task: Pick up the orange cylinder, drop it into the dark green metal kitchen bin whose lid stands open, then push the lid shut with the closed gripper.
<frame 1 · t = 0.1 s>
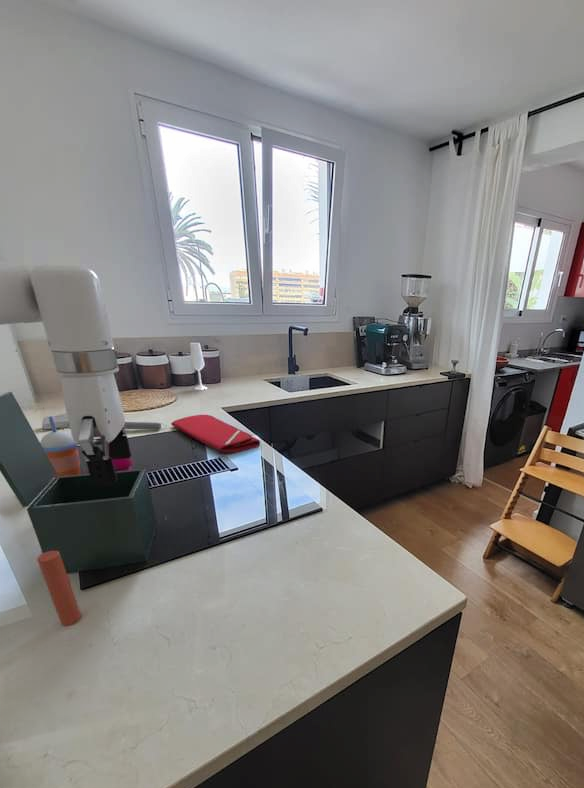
hand: (113, 469, 63), 24 cm above the counter, tool pointing down, fingers open, 9 cm apart
pepper mill: (120, 476, 114), on the counter
kitchen whisk: (118, 431, 150), on the counter
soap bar: (58, 427, 152), on the counter
bin lid: (17, 447, 71), point 24 cm above the counter, hinge at 100.0°
champagne flute: (201, 388, 216), on the counter
orange cylinder: (71, 619, 65), on the counter
cup with straw: (68, 477, 113), on the counter
bin: (109, 548, 83), on the counter
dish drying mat: (214, 436, 148), on the counter
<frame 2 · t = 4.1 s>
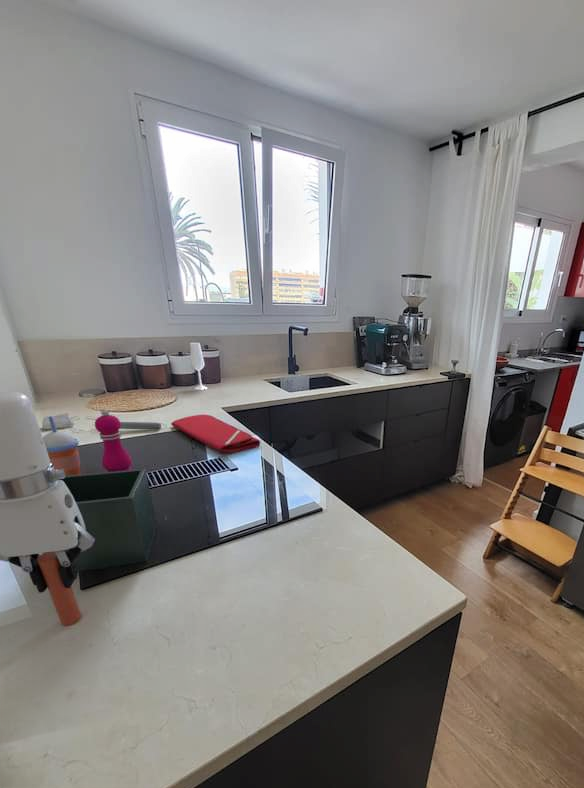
hand: (58, 583, 62), 8 cm above the counter, tool pointing down, fingers closed on orange cylinder, 2 cm apart
orange cylinder: (71, 619, 65), on the counter, touching gripper
everything else where it was.
when the fingers open (21 cm above the counter, at t = 11.1 s): orange cylinder drops 12 cm, resting on bin.
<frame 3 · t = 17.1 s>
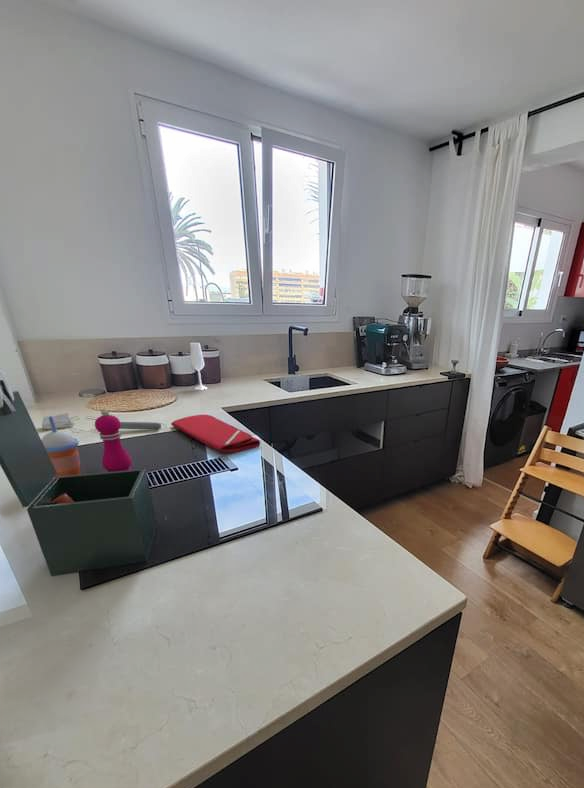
bin lid: (20, 447, 71), point 24 cm above the counter, hinge at 96.7°, touching gripper
orange cylinder: (107, 543, 82), point 1 cm above the counter, tilted 28°, touching bin
everything else where it was.
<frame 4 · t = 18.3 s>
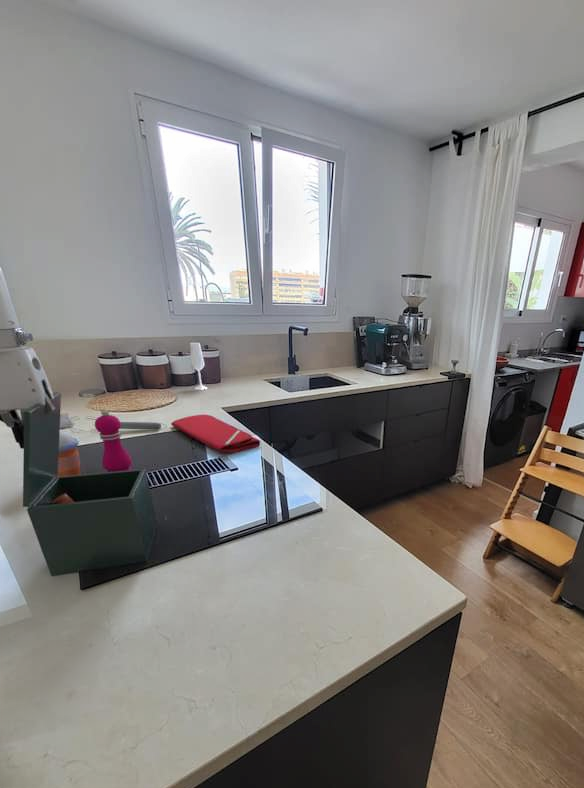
hand: (29, 445, 71), 24 cm above the counter, tool pointing down, fingers closed
bin lid: (42, 447, 72), point 24 cm above the counter, hinge at 74.4°, touching gripper
everything else where it was.
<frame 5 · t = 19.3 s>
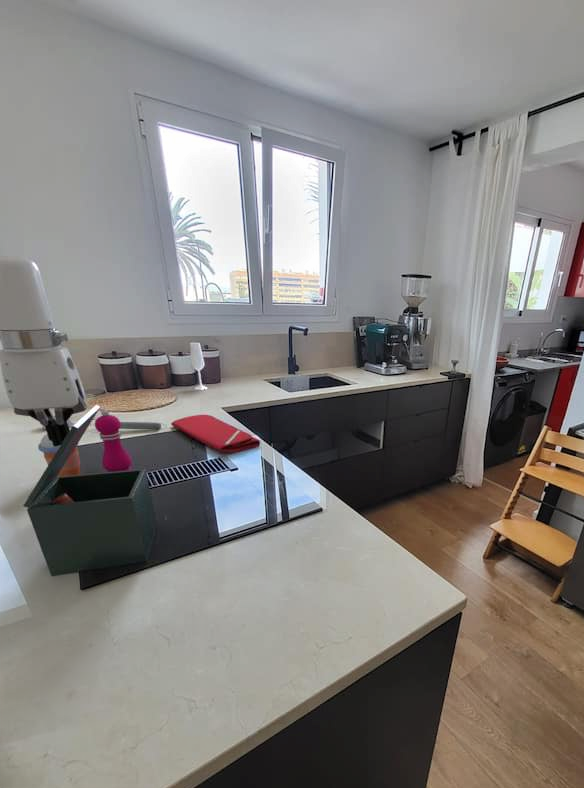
hand: (62, 443, 72), 24 cm above the counter, tool pointing down, fingers closed
bin lid: (64, 453, 73), point 22 cm above the counter, hinge at 52.4°, touching gripper
everything else where it was.
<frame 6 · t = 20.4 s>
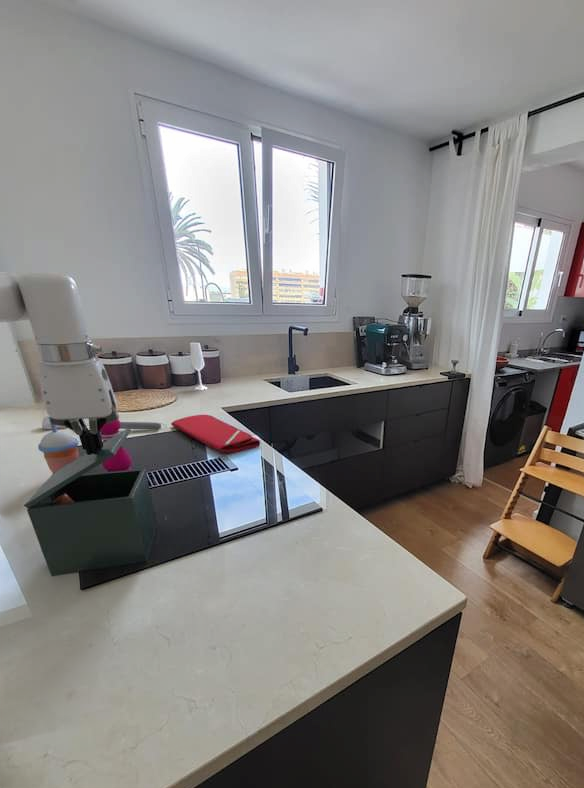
hand: (94, 451, 75), 22 cm above the counter, tool pointing down, fingers closed
bin lid: (82, 464, 75), point 20 cm above the counter, hinge at 29.6°, touching gripper
everything else where it was.
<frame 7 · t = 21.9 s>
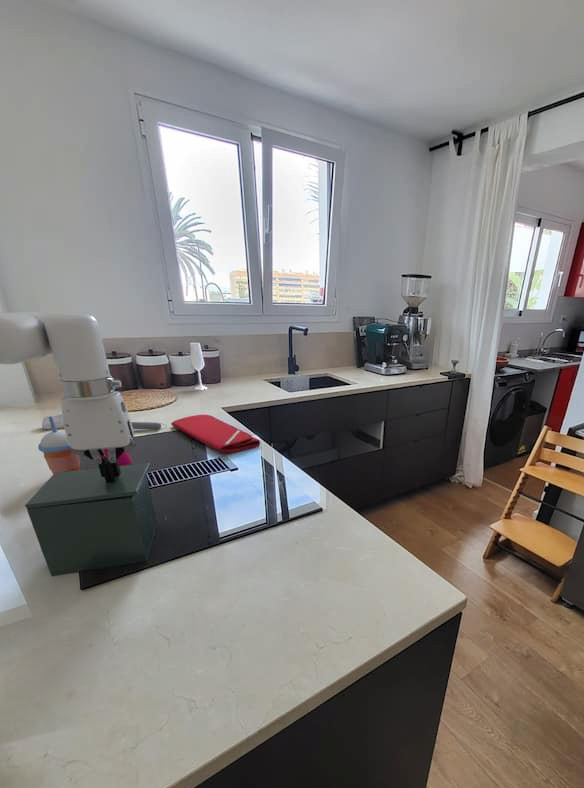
hand: (112, 479, 78), 16 cm above the counter, tool pointing down, fingers closed
bin lid: (94, 483, 77), point 15 cm above the counter, hinge at 1.5°, touching gripper
everything else where it was.
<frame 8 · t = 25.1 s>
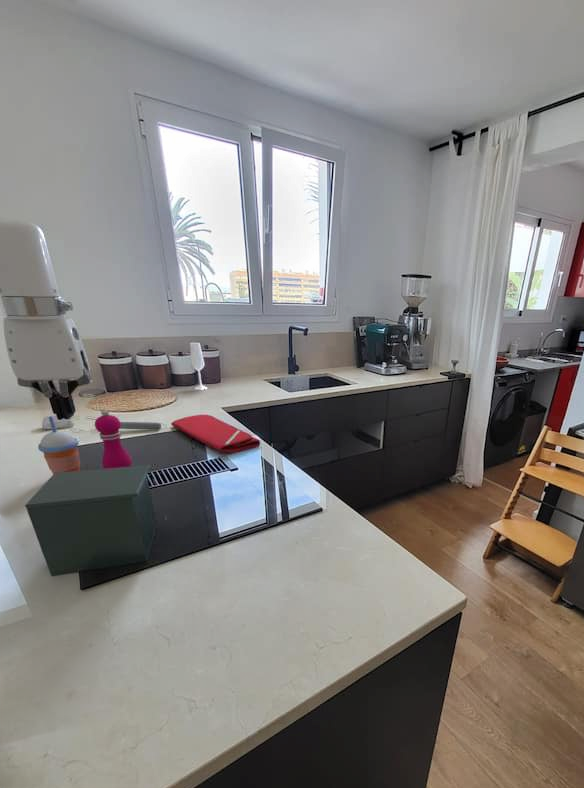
hand: (66, 417, 71), 29 cm above the counter, tool pointing down, fingers closed
bin lid: (94, 484, 77), point 15 cm above the counter, hinge at -0.1°
everything else where it was.
at the end: orange cylinder inside the target area in the bin (0.2 cm from its centre), point 1.5 cm above the bin's base; bin lid at +0° (first picture: +100°) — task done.
